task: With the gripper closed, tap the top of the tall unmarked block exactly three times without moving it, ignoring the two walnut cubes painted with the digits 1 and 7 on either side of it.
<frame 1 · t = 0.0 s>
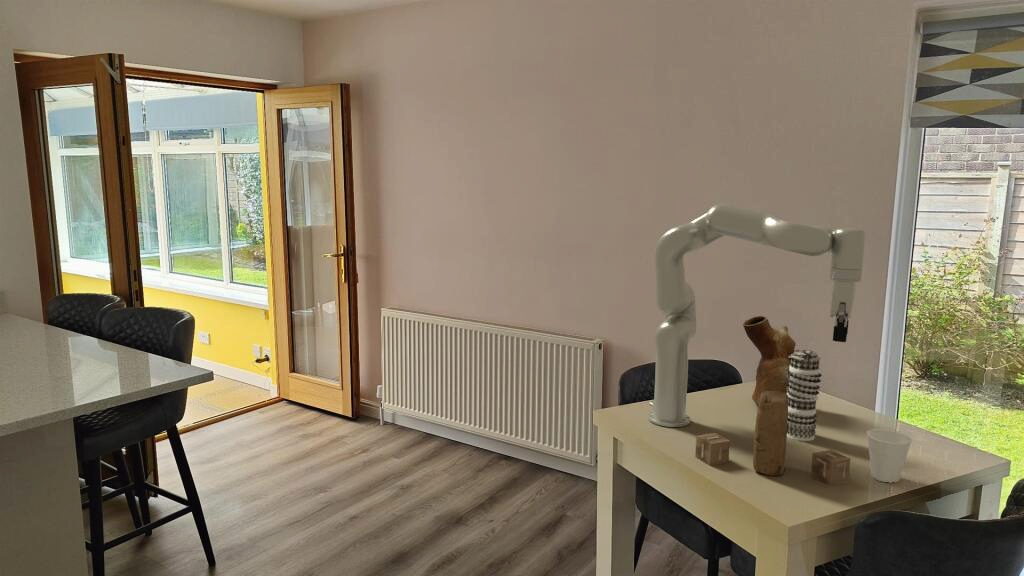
hand: (840, 337, 185), 31 cm above the table, tool pointing down, fingers open, 9 cm apart
cup: (884, 479, 171), on the table
ceramic vessel: (771, 407, 224), on the table
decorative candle: (798, 436, 199), on the table
walnut cube 7: (829, 478, 170), on the table
walnut cube 1: (711, 459, 181), on the table
block: (768, 469, 176), on the table
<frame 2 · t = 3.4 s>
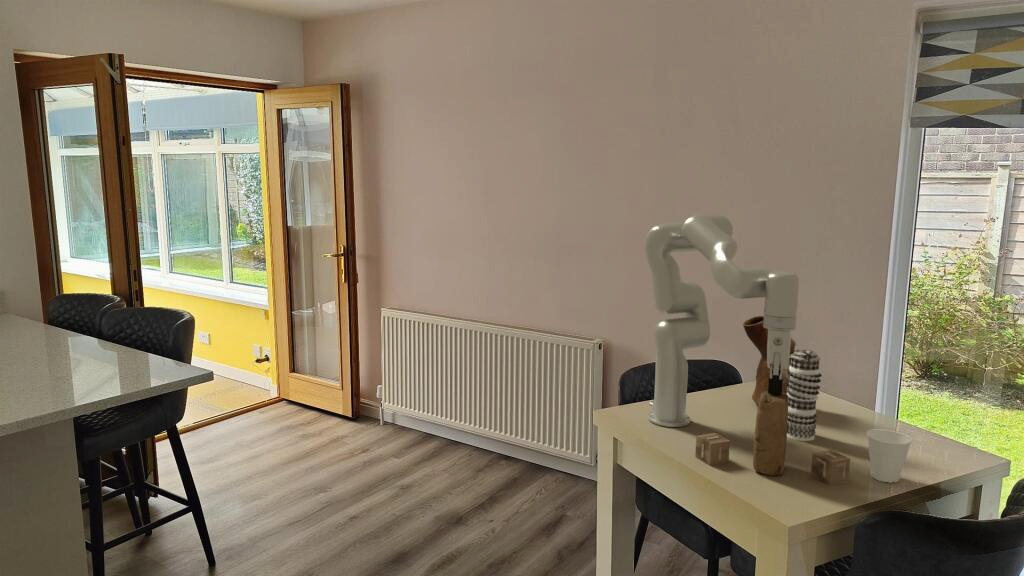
hand: (774, 393, 172), 20 cm above the table, tool pointing down, fingers closed
block: (768, 469, 176), on the table, touching gripper
everything else where it was.
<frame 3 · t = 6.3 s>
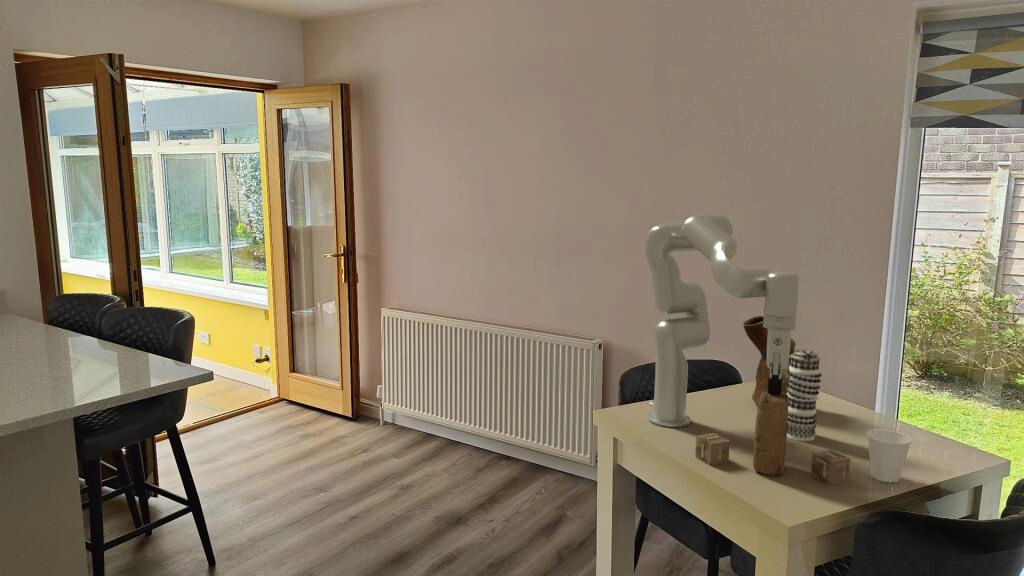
hand: (774, 393, 173), 20 cm above the table, tool pointing down, fingers closed
block: (768, 469, 176), on the table
everything else where it was.
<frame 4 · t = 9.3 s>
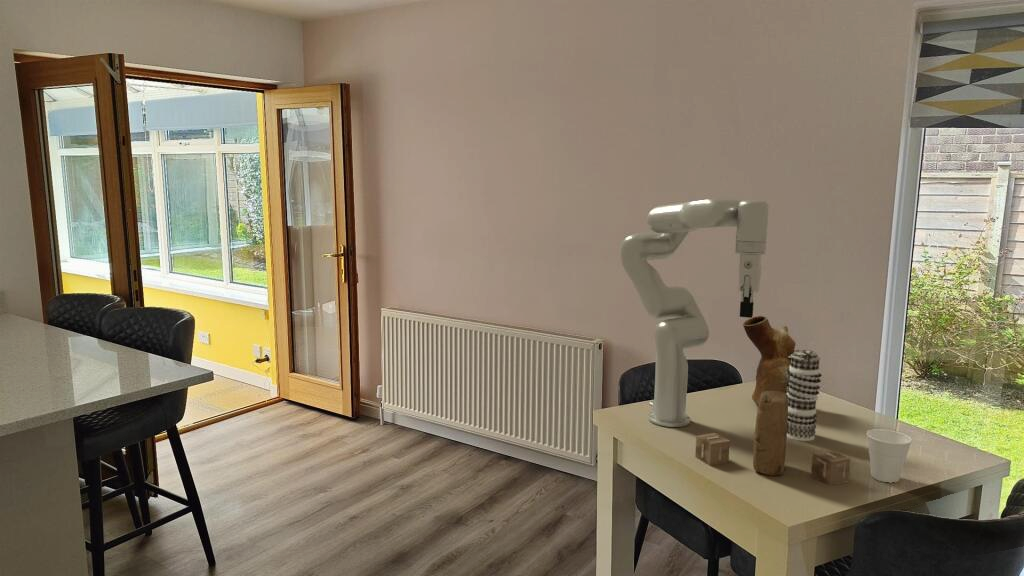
hand: (746, 316, 182), 37 cm above the table, tool pointing down, fingers closed
nothing on the table moved.
at the end: block moved 0.2 cm from its start; block tilted 0°; walnut cube 7 moved 0.1 cm from its start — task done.
